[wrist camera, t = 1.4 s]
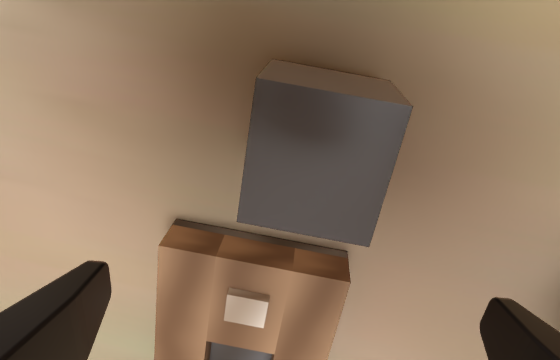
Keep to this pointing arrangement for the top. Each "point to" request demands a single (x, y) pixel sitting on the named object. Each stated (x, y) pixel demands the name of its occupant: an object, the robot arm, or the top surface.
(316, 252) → the socket box
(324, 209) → the dark grey block
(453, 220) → the top surface
